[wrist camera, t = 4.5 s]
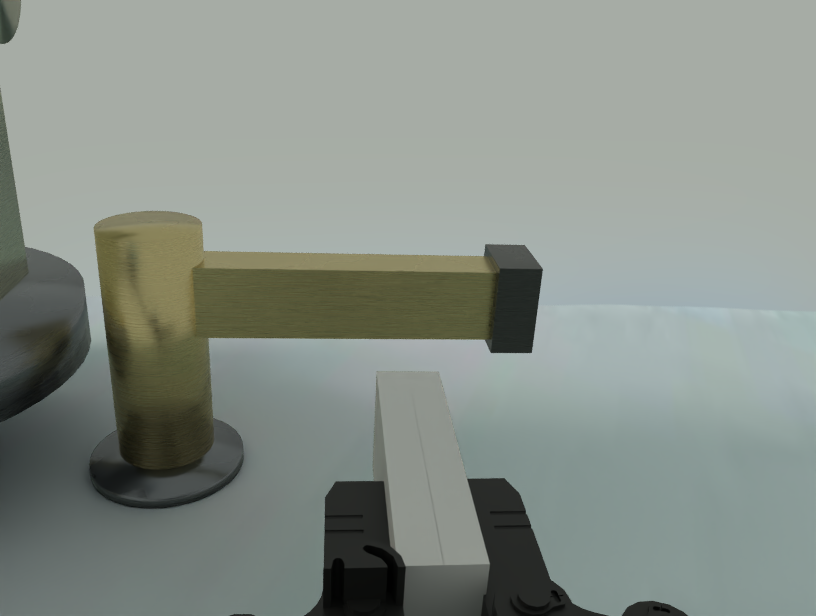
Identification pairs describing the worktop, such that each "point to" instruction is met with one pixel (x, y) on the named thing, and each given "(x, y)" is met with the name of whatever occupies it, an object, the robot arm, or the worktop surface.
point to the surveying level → (75, 350)
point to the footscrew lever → (274, 314)
